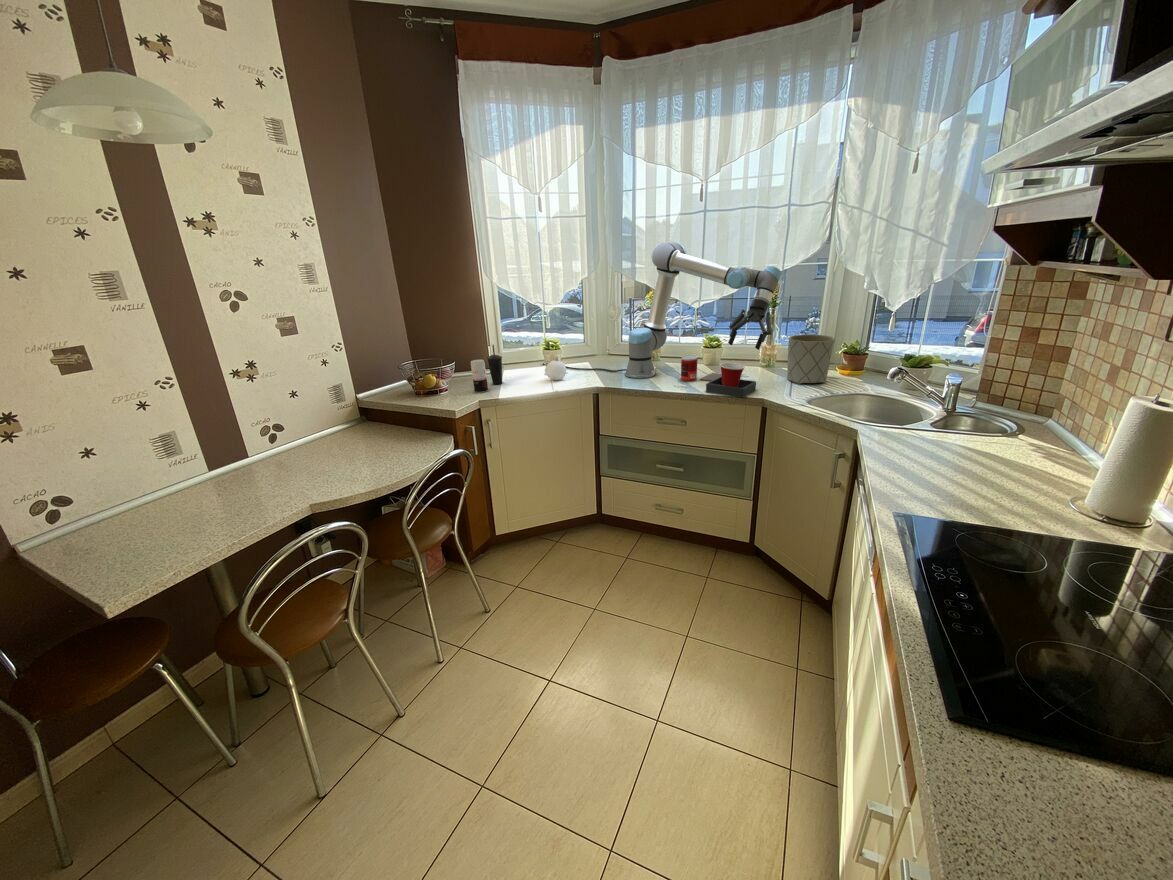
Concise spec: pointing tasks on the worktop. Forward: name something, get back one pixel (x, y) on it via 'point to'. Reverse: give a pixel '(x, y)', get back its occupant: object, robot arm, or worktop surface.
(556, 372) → the ornament
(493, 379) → the drinking cup
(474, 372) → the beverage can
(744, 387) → the dark grey tray
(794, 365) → the planter
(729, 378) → the plastic cup
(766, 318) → the robot arm
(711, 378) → the grey square plate
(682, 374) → the canned food
